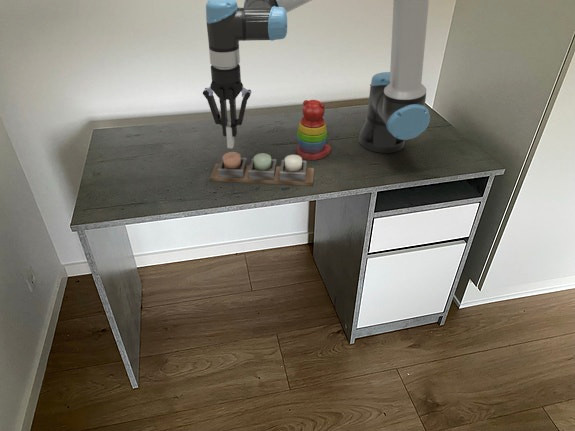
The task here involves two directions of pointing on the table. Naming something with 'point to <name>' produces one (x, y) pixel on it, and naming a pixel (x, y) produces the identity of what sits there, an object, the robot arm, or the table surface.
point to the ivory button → (293, 163)
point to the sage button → (262, 162)
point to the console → (263, 174)
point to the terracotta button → (232, 160)
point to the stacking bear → (312, 132)
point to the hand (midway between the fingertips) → (230, 145)
